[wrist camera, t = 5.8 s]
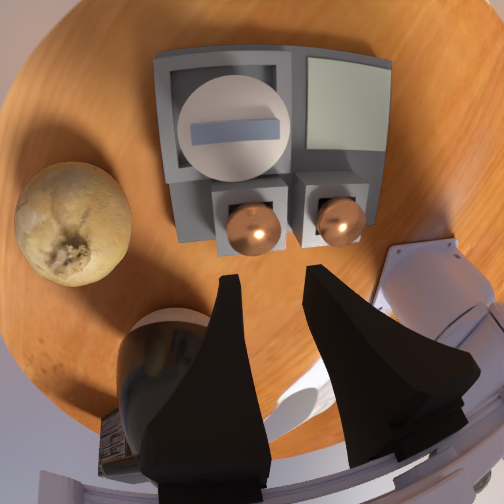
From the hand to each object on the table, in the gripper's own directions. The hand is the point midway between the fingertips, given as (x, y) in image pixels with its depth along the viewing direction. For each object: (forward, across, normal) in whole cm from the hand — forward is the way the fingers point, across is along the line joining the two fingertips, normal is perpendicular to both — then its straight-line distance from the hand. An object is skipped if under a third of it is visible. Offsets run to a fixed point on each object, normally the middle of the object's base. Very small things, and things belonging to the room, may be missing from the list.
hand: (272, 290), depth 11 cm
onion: (+10, +11, -1) cm, 15 cm away
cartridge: (+8, +1, -6) cm, 10 cm away
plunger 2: (+7, -5, 0) cm, 9 cm away
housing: (+9, -2, -4) cm, 10 cm away
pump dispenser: (+10, +6, +12) cm, 17 cm away
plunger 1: (+7, 0, 0) cm, 7 cm away
